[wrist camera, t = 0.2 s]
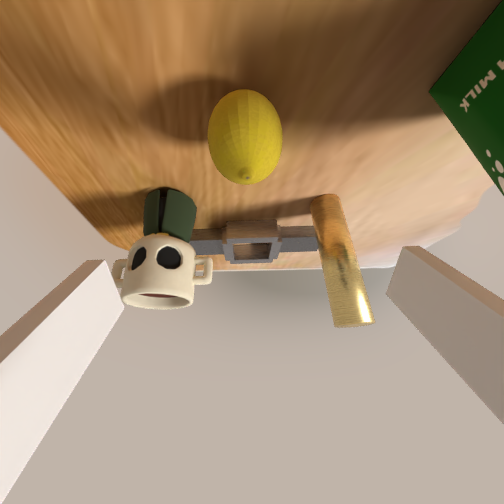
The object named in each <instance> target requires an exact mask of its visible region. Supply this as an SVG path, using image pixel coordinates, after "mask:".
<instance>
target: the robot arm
mask: <svg viewBox="0 0 504 504" xmlns="http://www.w3.org/2000/svg"><path fill="white" fill-rule="evenodd" d="M386 295H387V296H388V297H389V298H390V299H391V300H392V301H393V303H394V304H395V305H396V306H397V307H398V308H399V309H400V310H401V311H402V312H403V314H404V315H405V316H406V317H407V318H408V319H409V320H410V321H411V322H412V324H413V325H414V326H415V327H416V328H417V329H418V330H419V331H420V332H421V334H422V335H423V336H424V337H425V338H426V339H427V340H428V341H429V342H430V343H431V345H432V346H433V347H434V348H435V349H436V350H437V351H438V352H439V353H440V355H441V356H442V357H443V358H444V359H445V360H446V361H447V362H448V363H449V365H451V367H452V368H453V369H454V370H455V371H456V372H457V373H458V374H459V375H460V377H461V378H462V379H463V380H464V381H465V382H466V383H467V384H468V386H469V387H470V388H471V389H472V390H473V391H474V392H475V393H476V394H477V396H478V397H479V398H480V399H481V400H482V401H483V402H484V403H485V404H486V405H487V407H488V408H489V409H490V410H491V411H492V412H493V413H494V414H495V415H496V416H497V418H498V419H499V420H500V421H501V422H502V423H503V424H504V300H503V299H501V298H500V297H498V296H497V295H495V294H493V293H492V292H490V291H489V290H487V289H486V288H484V287H483V286H481V285H479V284H478V283H476V282H475V281H473V280H472V279H470V278H468V277H467V276H465V275H464V274H462V273H460V272H459V271H458V270H456V269H454V268H453V267H451V266H450V265H448V264H446V263H445V262H443V261H442V260H440V259H439V258H437V257H436V256H434V255H433V254H431V253H429V252H428V251H426V250H425V249H423V248H422V247H420V246H405V247H402V250H401V253H400V256H399V258H398V261H397V264H396V267H395V270H394V272H393V275H392V278H391V281H390V284H389V286H388V289H387V292H386ZM123 309H124V306H123V303H122V301H121V298H120V296H119V293H118V291H117V288H116V285H115V283H114V280H113V278H112V275H111V273H110V270H109V268H108V265H107V263H106V260H87V261H86V262H85V263H83V264H82V265H81V266H80V267H79V268H78V269H76V270H75V271H74V272H73V273H72V274H71V275H69V276H68V277H67V278H66V279H65V280H64V281H63V282H62V283H60V284H59V285H58V286H57V287H56V288H55V289H53V290H52V291H51V292H50V293H49V294H48V295H47V296H45V297H44V298H43V299H42V300H41V301H40V302H39V303H37V305H35V306H34V307H33V308H32V309H31V310H30V311H28V312H27V313H26V314H25V315H24V316H23V317H21V318H20V319H19V320H18V321H17V322H16V323H15V324H14V325H12V326H11V327H10V328H9V329H8V330H7V331H5V332H4V333H3V334H2V335H1V336H0V504H2V502H3V500H4V499H5V497H6V496H7V494H8V492H9V491H10V489H11V488H12V486H13V484H14V483H15V481H16V480H17V478H18V477H19V475H20V473H21V472H22V470H23V469H24V467H25V466H26V464H27V462H28V461H29V459H30V457H31V456H32V454H33V453H34V451H35V449H36V448H37V446H38V445H39V443H40V442H41V440H42V438H43V437H44V435H45V433H46V432H47V431H48V429H49V427H50V426H51V424H52V422H53V421H54V419H55V418H56V416H57V414H58V413H59V411H60V410H61V408H62V407H63V405H64V403H65V402H66V400H67V399H68V397H69V396H70V394H71V392H72V391H73V389H74V388H75V386H76V384H77V383H78V381H79V380H80V378H81V376H82V375H83V373H84V372H85V370H86V368H87V367H88V365H89V364H90V362H91V360H92V359H93V357H94V356H95V354H96V352H97V351H98V349H99V348H100V346H101V345H102V343H103V341H104V340H105V338H106V336H107V335H108V333H109V332H110V330H111V329H112V327H113V325H114V324H115V322H116V321H117V319H118V318H119V316H120V314H121V313H122V311H123Z"/></svg>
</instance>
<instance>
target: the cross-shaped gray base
mask: <svg viewBox="0 0 504 504" xmlns="http://www.w3.org/2000/svg"><path fill="white" fill-rule="evenodd" d="M237 243H267V244H253V245H234V244H237ZM189 244H190V245H191V246H192V247H193V248H194V250H195V252H196V255H216V254H224V255H225V260H226V261H229V260H230V264H242V263H270V262H272V261H273V259H277V258H278V254H279V252H304V251H317V249H318V244H317V239H316V235H315V230H314V226H300V227H280V225H277V220H257V221H227V227H222V229H198V230H193V231H192V235H191V239H190V242H189Z"/></svg>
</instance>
